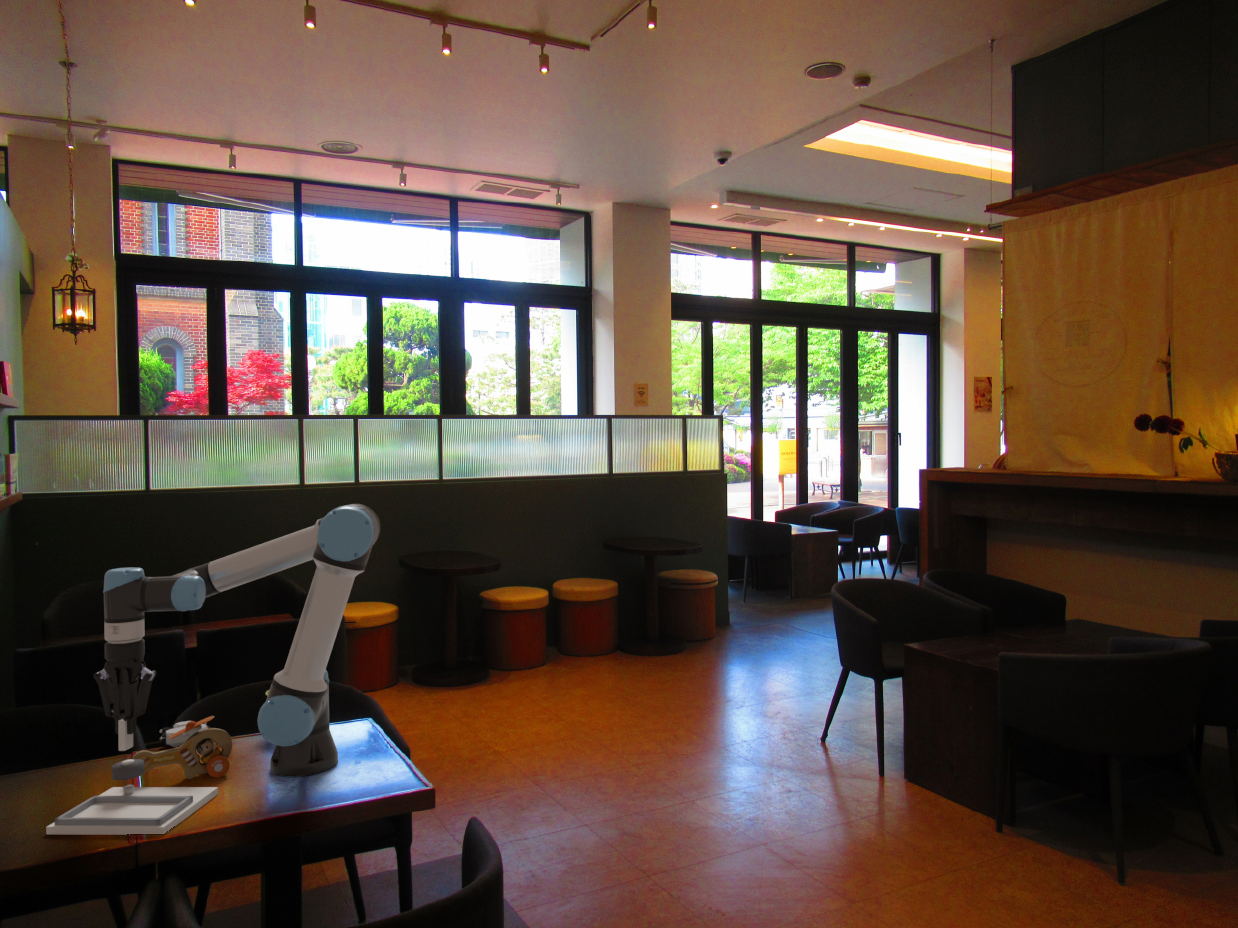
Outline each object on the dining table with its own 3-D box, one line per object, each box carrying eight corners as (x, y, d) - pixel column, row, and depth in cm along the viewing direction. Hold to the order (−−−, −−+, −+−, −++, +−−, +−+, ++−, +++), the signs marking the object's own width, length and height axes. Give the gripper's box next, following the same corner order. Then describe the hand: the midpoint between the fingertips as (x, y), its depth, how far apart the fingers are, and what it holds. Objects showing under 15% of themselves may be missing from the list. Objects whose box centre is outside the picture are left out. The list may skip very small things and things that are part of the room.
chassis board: (218, 793, 185) (217, 780, 185) (164, 834, 165) (163, 819, 165) (112, 793, 186) (112, 780, 186) (46, 834, 166) (46, 819, 166)
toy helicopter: (235, 774, 196) (233, 716, 196) (132, 795, 185) (130, 733, 185) (229, 764, 203) (228, 707, 203) (130, 784, 192) (128, 724, 192)
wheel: (150, 769, 185) (149, 756, 185) (132, 780, 179) (132, 766, 179) (123, 769, 185) (123, 756, 185) (105, 780, 179) (105, 766, 179)
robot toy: (157, 741, 224) (161, 753, 212) (156, 724, 224) (160, 734, 212) (208, 732, 231) (215, 743, 218) (207, 715, 231) (214, 725, 218)
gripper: (83, 643, 179) (85, 754, 179) (143, 643, 178) (144, 754, 178) (107, 636, 186) (108, 742, 186) (164, 636, 185) (165, 742, 186)
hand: (126, 748), depth 182 cm, fingers closed
